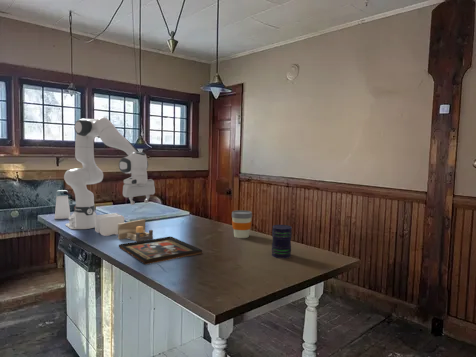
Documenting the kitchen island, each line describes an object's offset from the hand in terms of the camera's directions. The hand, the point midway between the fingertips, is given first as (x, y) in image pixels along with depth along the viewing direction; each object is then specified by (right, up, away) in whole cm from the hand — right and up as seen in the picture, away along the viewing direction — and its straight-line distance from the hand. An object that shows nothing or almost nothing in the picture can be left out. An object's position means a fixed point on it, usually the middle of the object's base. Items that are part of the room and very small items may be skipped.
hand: (139, 203), depth 208 cm
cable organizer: (-22, -20, +13) cm, 32 cm away
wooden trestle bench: (-1, -21, +3) cm, 21 cm away
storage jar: (+79, -25, -26) cm, 87 cm away
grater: (-73, -15, +58) cm, 95 cm away
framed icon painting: (+16, -24, -20) cm, 35 cm away
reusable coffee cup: (+59, -21, +12) cm, 64 cm away
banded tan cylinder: (0, -21, +2) cm, 21 cm away
